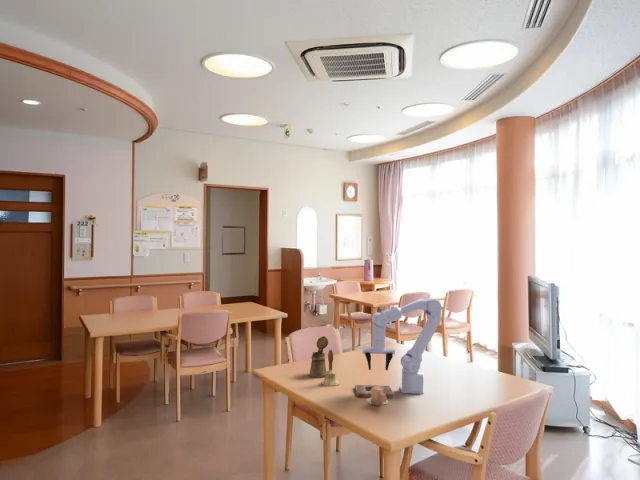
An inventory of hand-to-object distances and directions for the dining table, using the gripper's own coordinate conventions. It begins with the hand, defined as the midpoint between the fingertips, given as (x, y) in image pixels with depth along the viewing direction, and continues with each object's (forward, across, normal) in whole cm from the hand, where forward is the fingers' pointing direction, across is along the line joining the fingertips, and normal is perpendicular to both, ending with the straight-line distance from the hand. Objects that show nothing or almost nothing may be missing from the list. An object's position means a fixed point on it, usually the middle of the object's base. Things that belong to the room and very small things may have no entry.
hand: (378, 369), depth 204 cm
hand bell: (+10, +21, -10) cm, 25 cm away
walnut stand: (+10, +2, +2) cm, 10 cm away
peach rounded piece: (+10, +2, +18) cm, 20 cm away
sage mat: (+10, +2, +13) cm, 16 cm away
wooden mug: (+10, +26, -25) cm, 37 cm away
